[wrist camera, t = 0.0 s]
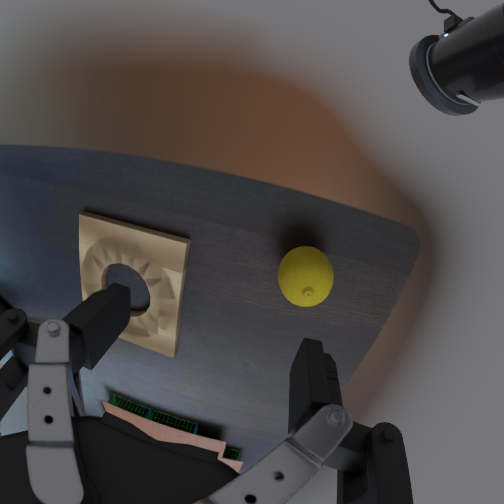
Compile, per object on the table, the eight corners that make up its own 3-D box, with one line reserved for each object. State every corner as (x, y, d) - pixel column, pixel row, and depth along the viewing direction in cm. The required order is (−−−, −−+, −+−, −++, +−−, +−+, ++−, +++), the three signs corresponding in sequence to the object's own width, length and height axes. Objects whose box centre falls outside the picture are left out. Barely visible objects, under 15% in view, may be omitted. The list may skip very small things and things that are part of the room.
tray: (85, 211, 32) (79, 214, 30) (191, 239, 31) (186, 243, 30) (90, 317, 38) (85, 322, 37) (177, 352, 38) (173, 358, 36)
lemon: (274, 278, 31) (271, 316, 24) (283, 232, 30) (283, 259, 22) (321, 285, 31) (330, 325, 24) (332, 241, 29) (347, 271, 22)
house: (98, 384, 45) (80, 410, 37) (252, 433, 43) (247, 467, 36) (116, 434, 53) (105, 455, 45) (235, 471, 52) (231, 496, 44)
